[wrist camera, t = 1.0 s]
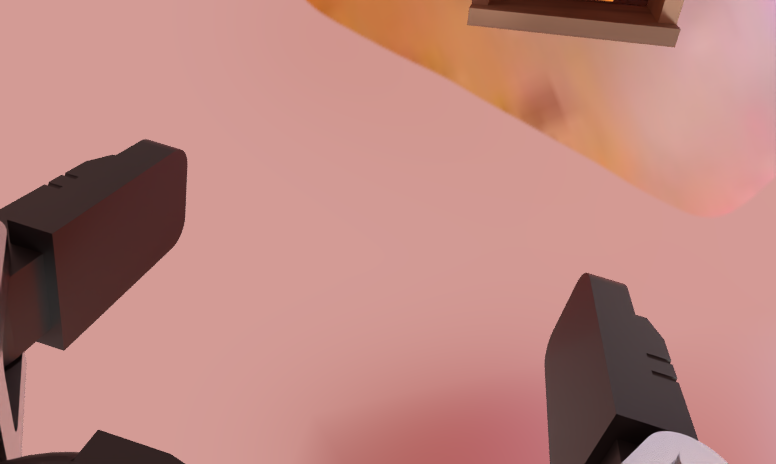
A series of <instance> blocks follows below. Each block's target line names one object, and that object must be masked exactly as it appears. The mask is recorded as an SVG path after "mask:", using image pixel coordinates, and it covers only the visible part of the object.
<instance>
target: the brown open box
mask: <svg viewBox="0 0 776 464" xmlns="http://www.w3.org/2000/svg"><path fill="white" fill-rule="evenodd" d="M683 2H684V0H648V3H647V7H646V6H636V5H625V4H615V3H605V2H594V1H584V0H472V4H471V6H470V8H469V15H468V23H467V25H472V26H481V27H490V28H500V29H509V30H518V31H528V32H537V33H546V34H556V35H565V36H574V37H584V38H593V39H602V40H611V41H621V42H630V43H639V44H649V45H658V46H667V47H675V45H676V42H677V39H678V35H679V32H680V28H679V27H678V26H677V25H676V24H677V21H678V18H679V15H680V12H681V8H682V5H683Z"/></svg>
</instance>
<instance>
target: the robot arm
mask: <svg viewBox="0 0 776 464" xmlns="http://www.w3.org/2000/svg"><path fill="white" fill-rule="evenodd" d="M186 182H187V157H186V154H185V152H184V151H183V150H180V149H177V148H174V147H170V146H167V145H164V144H161V143H157V142H154V141H151V140H142V141H140V142H138V143H136V144H135V145H133V146H131V147H129V148H128V149H126V150H124V151H123V152H121V153H119V154H118V155H116V156H115V155H110V156H106V157H102V158H98V159H94V160H90V161H86V162H84V163H82V164H80V165H79V166H77V167H75V168H73V169H71V170H70V171H68V172H66V173H65V176H63V175H61V176H59V177H57V178H55V179H54V180H52V181H50V182H49V184H48V186H47V185H43V186H41V187H39V188H37V189H36V190H34V191H32V192H31V193H29V194H27V195H25V196H23V197H21V198H20V199H18V200H16V201H14V202H12V203H11V204H9V205H7V206H5V207H4V208H2V209H0V464H185V463H183V462H181V461H180V460H179V459H177V458H176V457H174V456H173V455H171V454H169V453H166V452H163V451H160V450H157V449H154V448H151V447H148V446H145V445H142V444H139V443H136V442H133V441H130V440H127V439H124V438H121V437H118V436H115V435H113V434H109V433H107V432H104V431H100V430H98V431H97V432H96V433H95V434H94V435H93V437H92V438H91V439H90V440H89V441H88V443H87V444H86V445H85V446H84V448H83V449H82V450H81V451H80V452H52V453H44V454H35V455H28V456H24V457H22V434H23V415H24V398H25V396H24V395H25V380H26V357H25V351H26V350H27V349H28V348H29V347H30V346H31V345H32V344H33V343H35V342H40V343H43V344H45V345H49V346H52V347H55V348H58V349H61V350H65V349H66V348H67V347H68V346H69V345H70V344H71V343H73V341H75V340H76V339H77V338H78V337H79V336H80V335H81V334H82V333H83V332H84V331H85V330H86V329H87V328H88V327H89V326H90V325H92V324H93V323H94V322H95V321H96V320H97V319H98V318H99V317H100V316H101V315H102V314H103V313H104V312H105V311H106V310H107V309H108V308H109V307H110V306H112V305H113V304H114V303H115V302H116V301H117V300H118V299H119V298H120V297H121V296H122V295H123V294H124V293H125V292H126V291H127V290H128V289H129V288H131V286H133V285H134V284H135V283H136V282H137V281H138V280H139V279H140V278H141V277H142V276H143V275H144V274H145V273H146V272H147V271H149V270H150V269H151V267H153V266H154V265H155V264H156V263H157V262H158V261H159V260H160V259H161V258H162V257H163V256H164V255H165V254H166V253H167V252H169V250H171V249H172V248H173V246H174V245H175V244H176V243H177V241H178V239H179V237H180V235H181V233H182V230H183V226H184V222H185V206H186ZM670 362H671V359H670V356H669V353H668V350H667V347H666V344H665V341H664V339H663V338H662V337H661V335H660V334H659V333H658V332H657V330H656V329H655V328H654V327H653V325H652V324H651V323H650V322H649V321H648V319H647V318H644V317H641V316H638V315H635V312H634V309H633V305H632V302H631V298H630V295H629V292H628V288H627V286H626V285H625V284H622V283H619V282H615V281H612V280H609V279H605V278H602V277H599V276H595V275H592V274H589V273H584V274H583V275H582V276H581V277H580V279H579V280H578V282H577V284H576V286H575V288H574V290H573V292H572V294H571V296H570V298H569V300H568V302H567V304H566V306H565V308H564V310H563V312H562V314H561V316H560V318H559V320H558V322H557V324H556V326H555V328H554V330H553V332H552V335H551V337H550V340H549V343H548V346H547V350H546V355H545V379H546V380H545V381H546V397H547V398H546V399H547V417H548V434H549V450H550V451H549V454H550V464H728V463H727V462H726V461H725V460H724V459H723V458H722V457H721V456H720V455H718V454H717V453H716V452H715V451H713V450H712V449H711V448H709V447H708V446H706V445H705V444H703V443H701V442H699V441H698V438H697V435H696V432H695V429H694V426H693V423H692V420H691V417H690V415H689V412H688V409H687V406H686V403H685V400H684V397H683V394H682V391H681V388H680V385H679V383H677V382H676V380H677V377H676V373H675V371H674V368H673V365H671V364H670Z"/></svg>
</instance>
